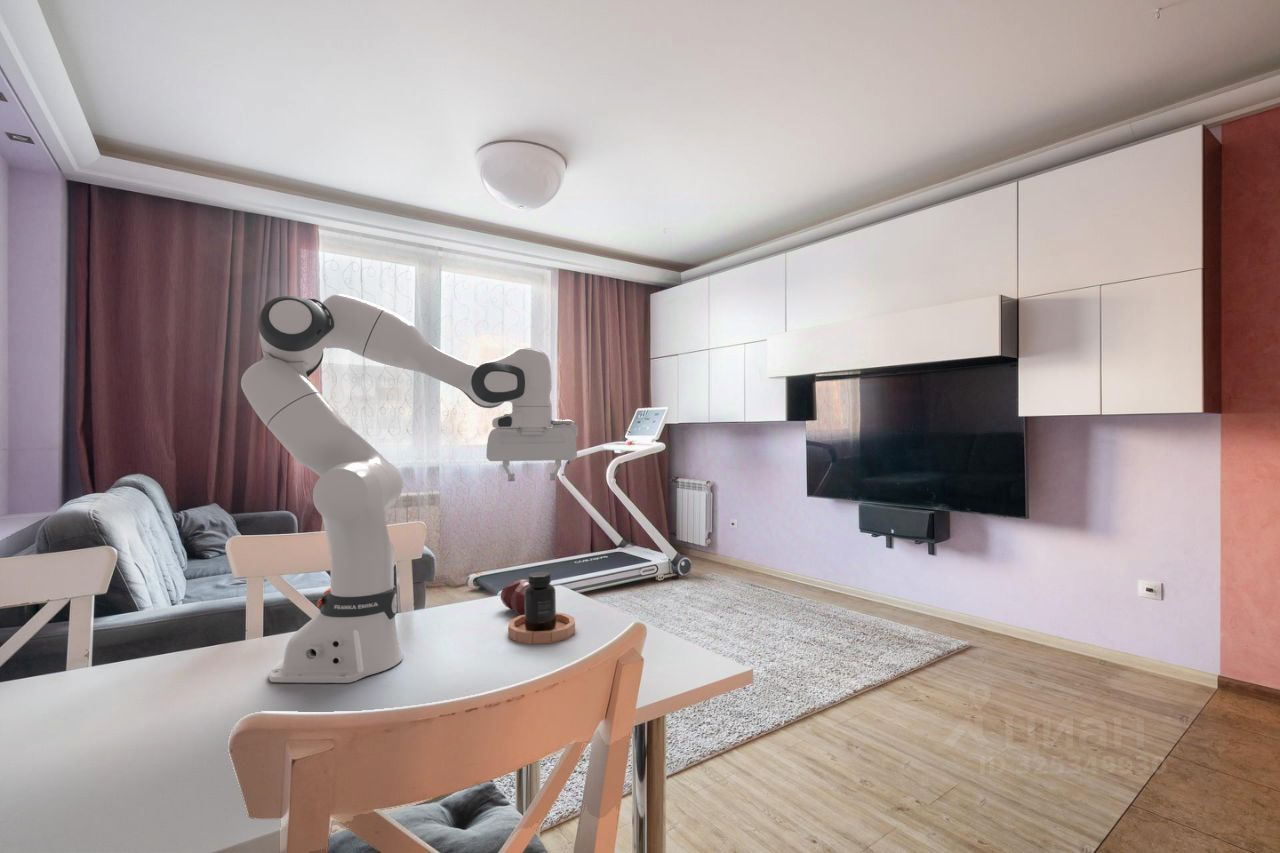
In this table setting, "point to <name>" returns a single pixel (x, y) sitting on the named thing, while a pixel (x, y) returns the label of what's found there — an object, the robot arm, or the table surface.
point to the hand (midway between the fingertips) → (532, 480)
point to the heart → (515, 595)
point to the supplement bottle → (540, 603)
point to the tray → (560, 632)
